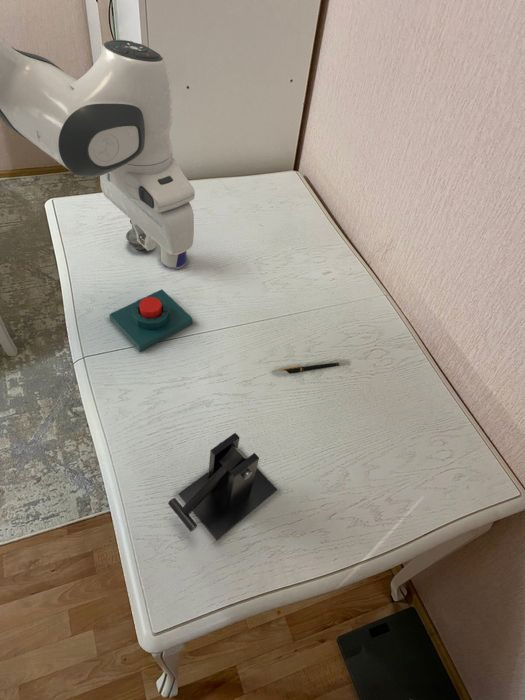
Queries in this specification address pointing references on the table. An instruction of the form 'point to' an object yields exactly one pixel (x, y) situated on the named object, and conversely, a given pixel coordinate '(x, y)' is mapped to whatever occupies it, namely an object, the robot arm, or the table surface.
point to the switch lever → (207, 487)
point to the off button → (150, 307)
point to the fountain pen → (308, 367)
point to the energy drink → (173, 260)
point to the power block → (150, 322)
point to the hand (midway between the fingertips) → (146, 245)
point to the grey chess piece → (133, 239)
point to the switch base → (229, 491)
